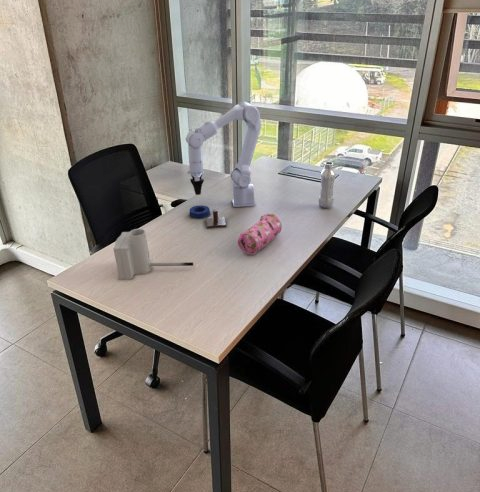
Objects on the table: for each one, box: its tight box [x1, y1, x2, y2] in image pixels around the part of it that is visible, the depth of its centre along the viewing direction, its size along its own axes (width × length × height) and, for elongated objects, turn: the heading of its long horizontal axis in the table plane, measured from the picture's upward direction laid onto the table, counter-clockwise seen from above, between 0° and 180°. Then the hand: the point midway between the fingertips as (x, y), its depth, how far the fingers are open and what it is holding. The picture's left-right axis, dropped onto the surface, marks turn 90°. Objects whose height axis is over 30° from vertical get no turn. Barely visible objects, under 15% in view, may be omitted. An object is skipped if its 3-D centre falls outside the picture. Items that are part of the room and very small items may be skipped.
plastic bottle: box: [318, 161, 336, 209], centre depth 199 cm, size 6×7×20 cm
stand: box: [205, 209, 227, 229], centre depth 191 cm, size 8×8×6 cm
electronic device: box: [113, 228, 194, 280], centre depth 158 cm, size 12×26×15 cm, turn 88°
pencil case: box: [237, 213, 283, 256], centre depth 174 cm, size 21×9×9 cm, turn 150°
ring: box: [189, 204, 211, 220], centre depth 200 cm, size 9×9×2 cm
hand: (197, 191), depth 199 cm, fingers open, 7 cm apart
